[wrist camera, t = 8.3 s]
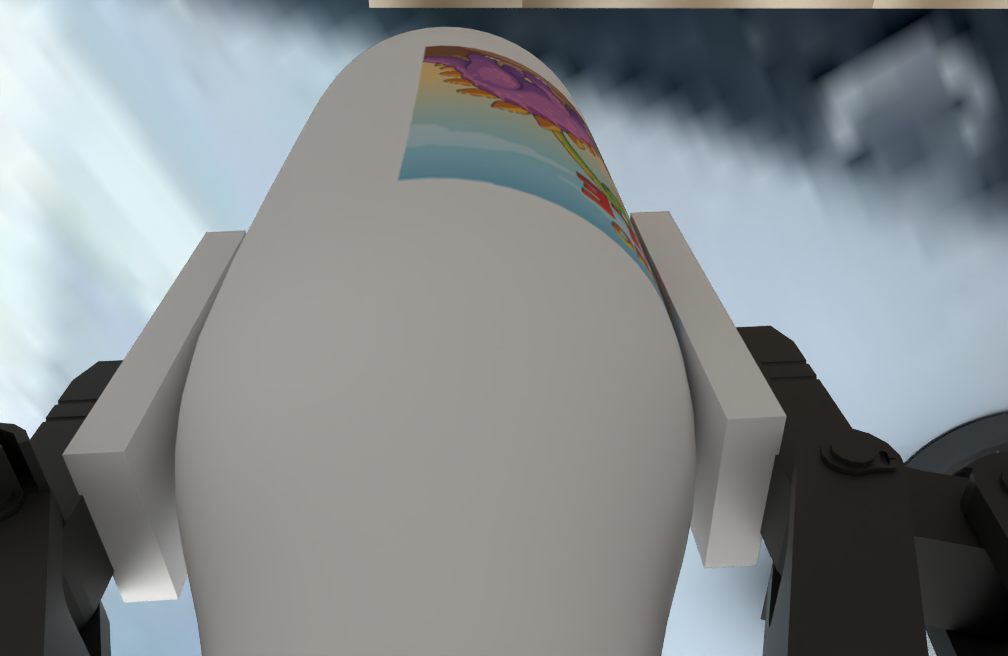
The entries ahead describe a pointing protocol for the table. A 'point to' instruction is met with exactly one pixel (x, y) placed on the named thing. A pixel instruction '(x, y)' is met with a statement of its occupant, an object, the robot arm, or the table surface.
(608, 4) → the well block
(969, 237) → the table surface
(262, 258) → the milk bottle
